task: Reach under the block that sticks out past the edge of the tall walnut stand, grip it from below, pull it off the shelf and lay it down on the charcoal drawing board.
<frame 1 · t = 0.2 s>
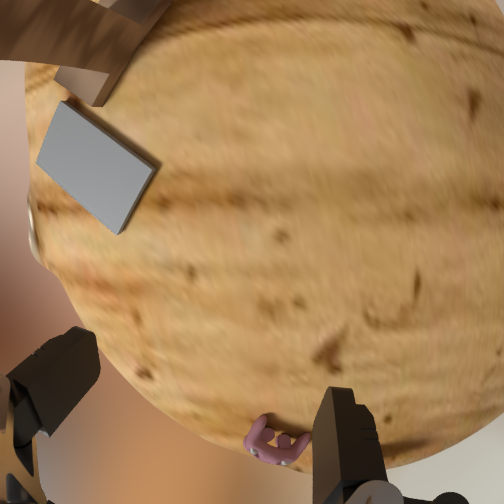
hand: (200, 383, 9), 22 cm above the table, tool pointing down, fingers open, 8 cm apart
drawing board: (89, 163, 30), on the table
stand: (117, 43, 24), on the table
video game controller: (278, 429, 42), on the table
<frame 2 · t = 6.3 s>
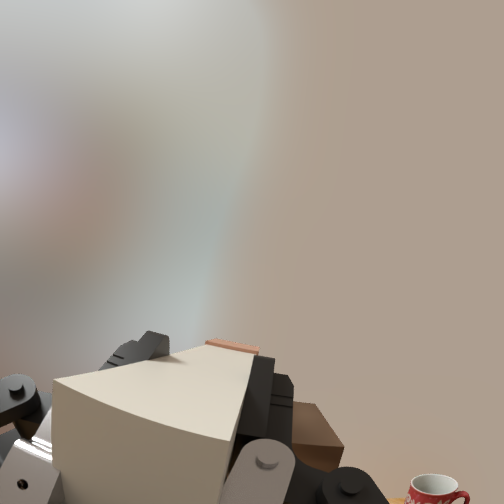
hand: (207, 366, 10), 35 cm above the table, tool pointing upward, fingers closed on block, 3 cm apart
block: (207, 420, 12), point 32 cm above the table, touching gripper, stand
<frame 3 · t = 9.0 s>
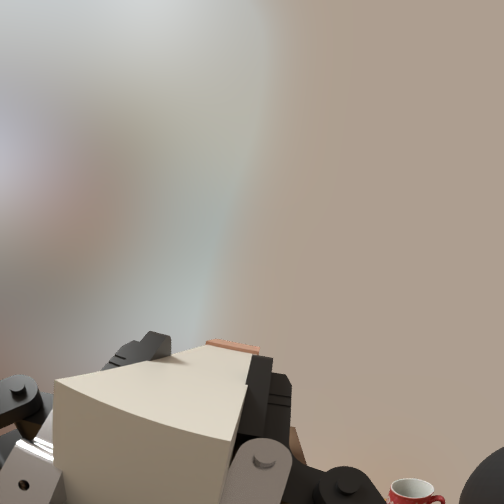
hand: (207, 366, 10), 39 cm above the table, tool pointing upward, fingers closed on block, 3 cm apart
block: (207, 420, 12), point 36 cm above the table, touching gripper
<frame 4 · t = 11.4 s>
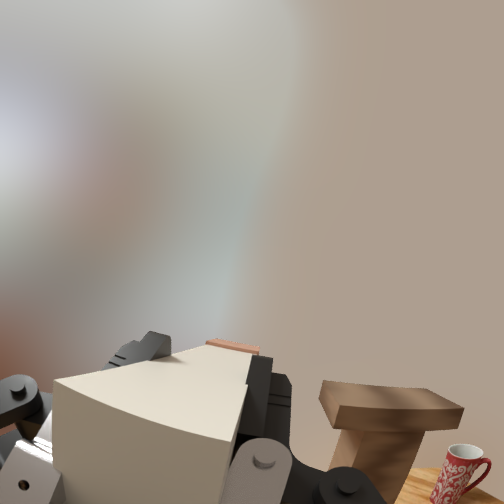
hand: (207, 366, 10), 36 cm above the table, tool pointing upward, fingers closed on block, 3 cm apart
block: (207, 420, 12), point 33 cm above the table, touching gripper
mug: (449, 501, 35), on the table
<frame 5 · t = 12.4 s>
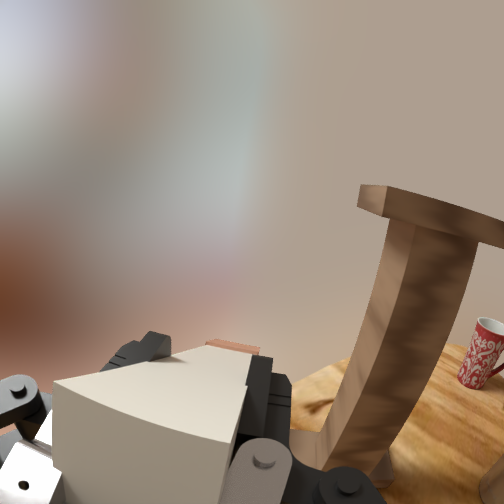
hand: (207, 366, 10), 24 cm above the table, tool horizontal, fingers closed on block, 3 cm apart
stand: (334, 470, 28), on the table
block: (207, 420, 12), point 21 cm above the table, tilted 28°, touching gripper
mug: (475, 383, 46), on the table
when the fingers open (8 cm above the table, at t = 16.2 s): block drops 4 cm, resting on drawing board.
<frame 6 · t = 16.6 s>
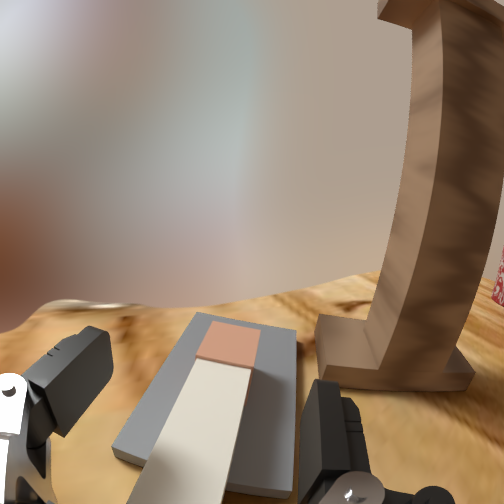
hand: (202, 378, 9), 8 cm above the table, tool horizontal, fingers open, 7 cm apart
drawing board: (227, 388, 19), on the table
stand: (393, 369, 22), on the table
block: (198, 464, 12), point 1 cm above the table, touching drawing board
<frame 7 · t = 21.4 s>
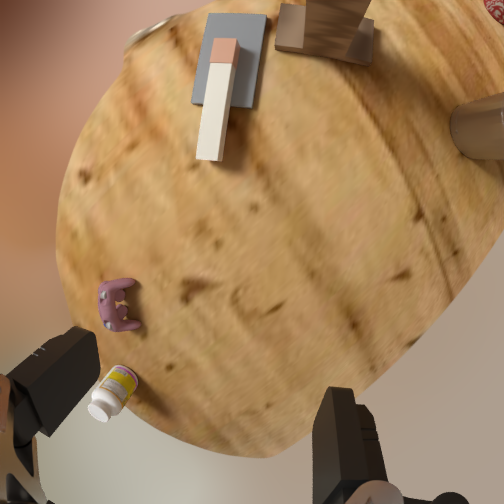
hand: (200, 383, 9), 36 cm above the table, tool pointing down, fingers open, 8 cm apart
drawing board: (230, 57, 38), on the table
stand: (324, 40, 35), on the table
video game controller: (126, 300, 51), on the table
block: (220, 100, 39), point 1 cm above the table, touching drawing board
supplement bottle: (126, 375, 57), on the table
mug: (502, 17, 26), on the table
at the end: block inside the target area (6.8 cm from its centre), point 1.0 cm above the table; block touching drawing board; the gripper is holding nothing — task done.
